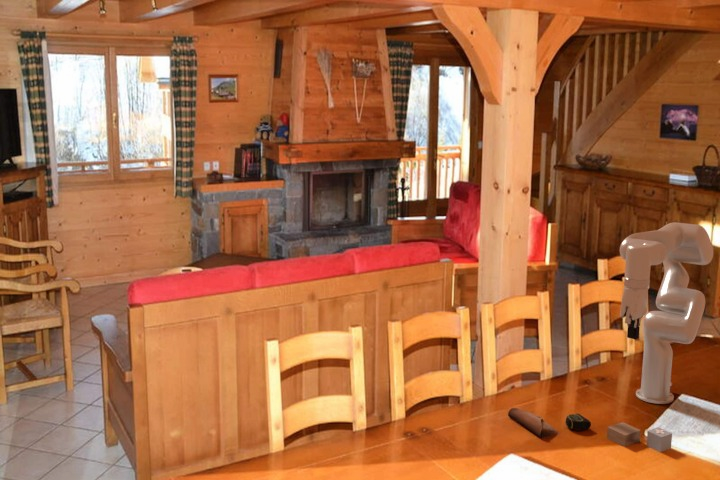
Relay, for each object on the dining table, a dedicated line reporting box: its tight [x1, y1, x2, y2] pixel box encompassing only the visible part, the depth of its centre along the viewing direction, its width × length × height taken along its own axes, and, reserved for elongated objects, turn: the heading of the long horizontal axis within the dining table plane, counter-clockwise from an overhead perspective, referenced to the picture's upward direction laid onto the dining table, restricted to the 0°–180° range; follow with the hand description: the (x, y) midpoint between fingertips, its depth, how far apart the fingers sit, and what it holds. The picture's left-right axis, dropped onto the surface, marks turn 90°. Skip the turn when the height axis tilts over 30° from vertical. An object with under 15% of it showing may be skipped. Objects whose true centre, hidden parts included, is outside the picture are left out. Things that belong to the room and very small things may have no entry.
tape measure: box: [565, 413, 592, 432], centre depth 245 cm, size 7×7×4 cm
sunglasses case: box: [507, 407, 560, 439], centre depth 247 cm, size 18×7×7 cm
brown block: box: [606, 421, 642, 448], centre depth 237 cm, size 7×7×4 cm
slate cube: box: [646, 426, 673, 453], centre depth 232 cm, size 5×5×5 cm
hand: (632, 337), depth 244 cm, fingers closed
